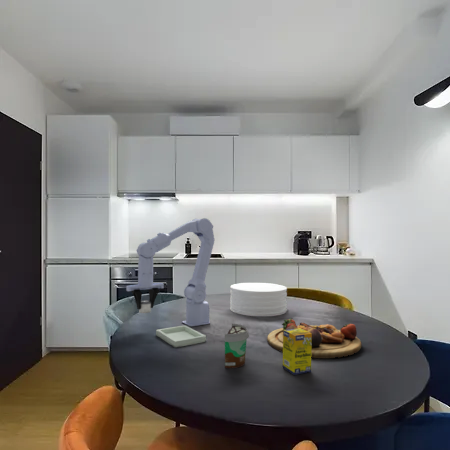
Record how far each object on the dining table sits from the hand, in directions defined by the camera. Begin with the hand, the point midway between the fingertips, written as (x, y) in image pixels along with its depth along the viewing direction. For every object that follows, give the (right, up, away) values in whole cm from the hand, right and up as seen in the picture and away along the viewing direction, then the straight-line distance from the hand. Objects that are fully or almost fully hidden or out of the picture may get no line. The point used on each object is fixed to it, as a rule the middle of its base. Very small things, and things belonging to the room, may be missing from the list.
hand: (145, 308), depth 137 cm
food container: (+35, -9, -33) cm, 49 cm away
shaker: (0, -1, 0) cm, 1 cm away
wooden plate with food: (+62, -10, -13) cm, 64 cm away
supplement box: (+52, -9, -38) cm, 64 cm away
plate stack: (+48, -10, +38) cm, 62 cm away
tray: (+15, -8, -10) cm, 20 cm away
